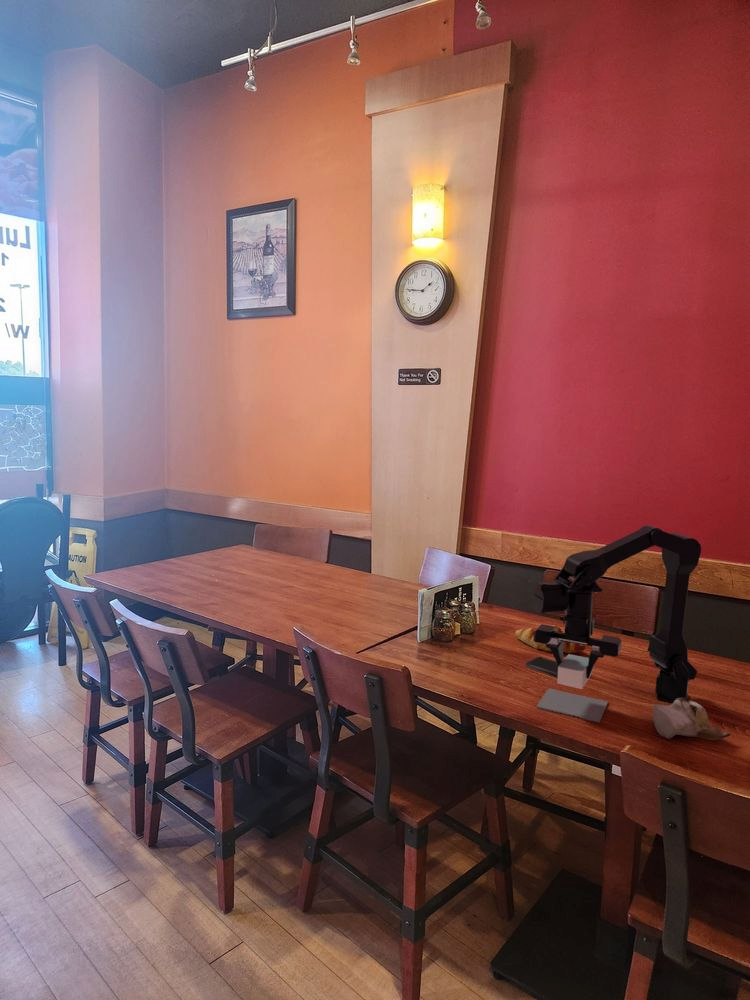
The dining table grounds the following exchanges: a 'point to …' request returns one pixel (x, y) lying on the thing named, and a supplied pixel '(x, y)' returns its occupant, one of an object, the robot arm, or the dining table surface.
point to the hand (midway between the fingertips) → (574, 675)
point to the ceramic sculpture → (685, 720)
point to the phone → (544, 666)
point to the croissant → (528, 636)
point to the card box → (573, 671)
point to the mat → (573, 705)
